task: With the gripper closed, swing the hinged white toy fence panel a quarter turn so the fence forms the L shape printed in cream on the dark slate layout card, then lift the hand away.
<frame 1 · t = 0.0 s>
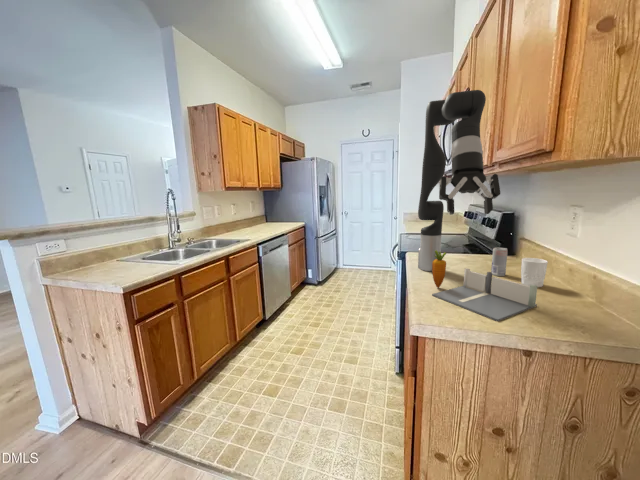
hand: (469, 213, 70), 31 cm above the countertop, tool tilted 20°, fingers open, 8 cm apart
layout card: (481, 300, 90), on the countertop
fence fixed: (487, 294, 95), resting on layout card
white cup: (531, 285, 104), on the countertop
carrot: (438, 288, 104), on the countertop
energy drink: (498, 275, 118), on the countertop
fence gate: (512, 290, 87), point 4 cm above the countertop, hinge at 0.0°
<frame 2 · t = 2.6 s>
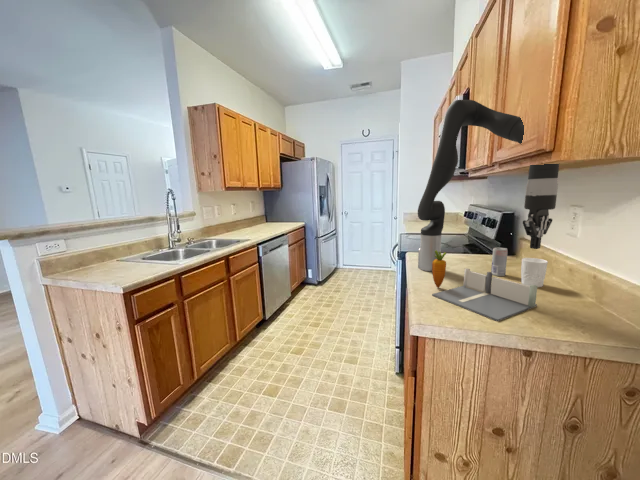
hand: (534, 248, 84), 19 cm above the countertop, tool pointing down, fingers closed
nothing on the countertop moved.
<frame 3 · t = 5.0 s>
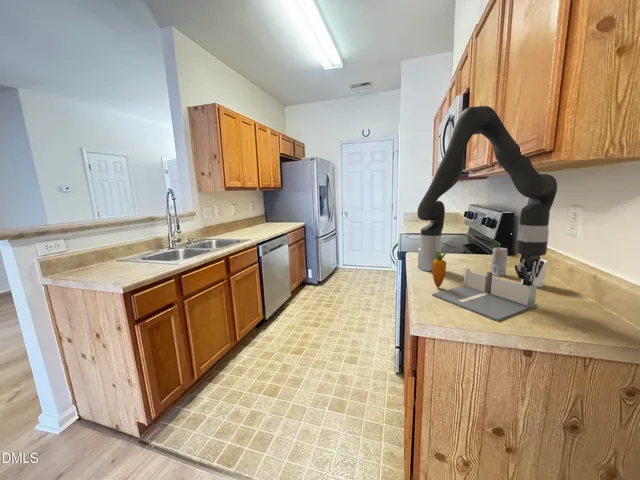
hand: (526, 290, 86), 5 cm above the countertop, tool pointing down, fingers closed
fence gate: (512, 290, 87), point 4 cm above the countertop, hinge at -1.6°, touching gripper
everything else where it was.
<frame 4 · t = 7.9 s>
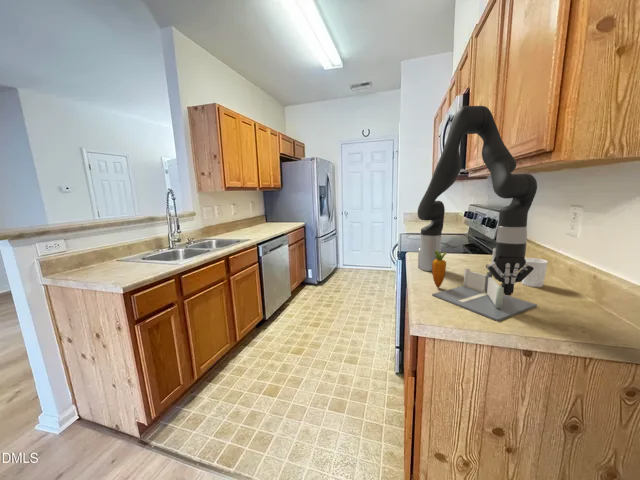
hand: (506, 294, 84), 5 cm above the countertop, tool pointing down, fingers closed
fence gate: (494, 291, 87), point 4 cm above the countertop, hinge at -46.8°, touching gripper
everything else where it was.
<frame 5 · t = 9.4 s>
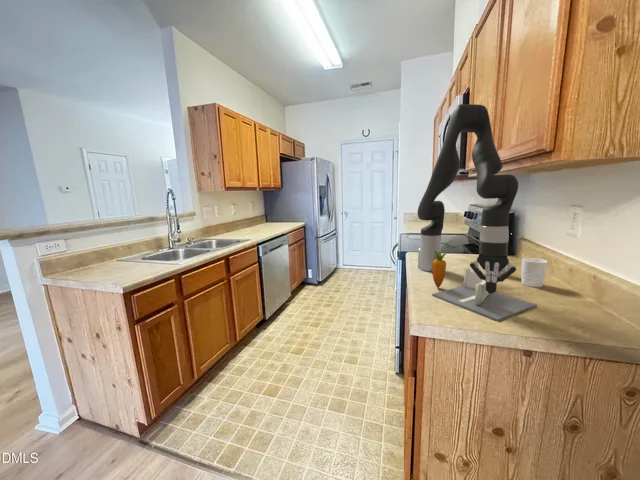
hand: (490, 292, 85), 5 cm above the countertop, tool pointing down, fingers closed
fence gate: (483, 289, 89), point 4 cm above the countertop, hinge at -70.4°, touching gripper
everything else where it was.
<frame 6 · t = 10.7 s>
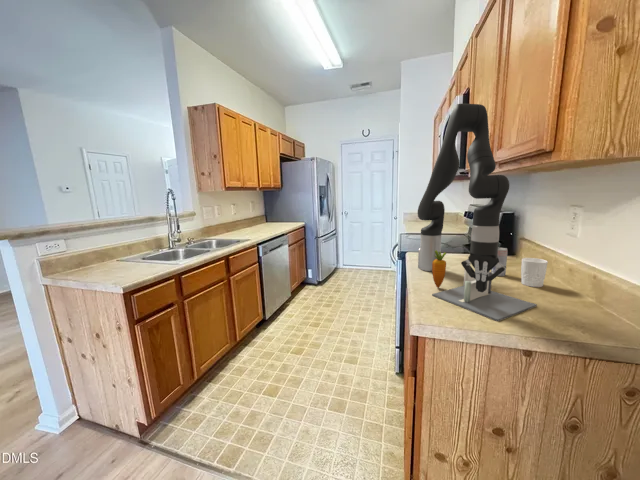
hand: (480, 291, 86), 5 cm above the countertop, tool pointing down, fingers closed
fence gate: (476, 287, 90), point 4 cm above the countertop, hinge at -84.9°
everything else where it was.
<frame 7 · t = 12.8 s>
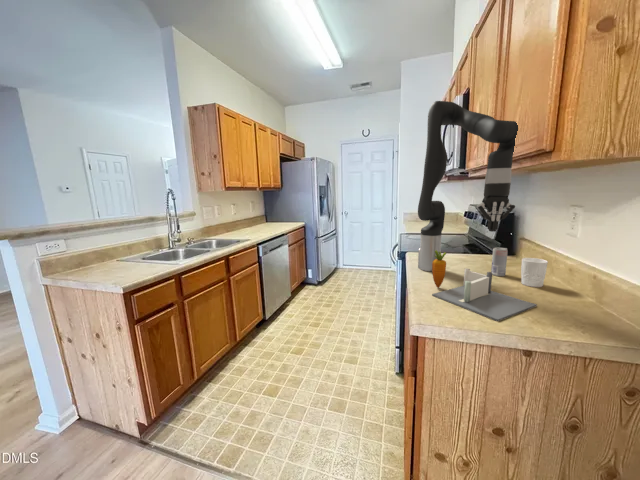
hand: (492, 231, 95), 23 cm above the countertop, tool pointing down, fingers closed
nothing on the countertop moved.
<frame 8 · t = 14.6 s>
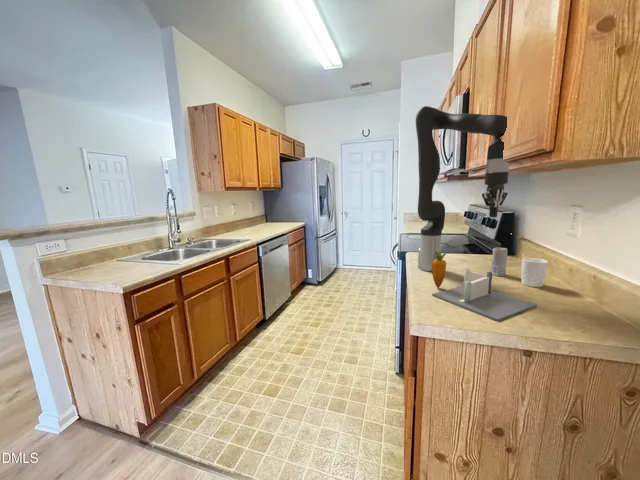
hand: (493, 216, 103), 27 cm above the countertop, tool pointing down, fingers closed
nothing on the countertop moved.
at the end: fence gate at -85° (first picture: +0°) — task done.
